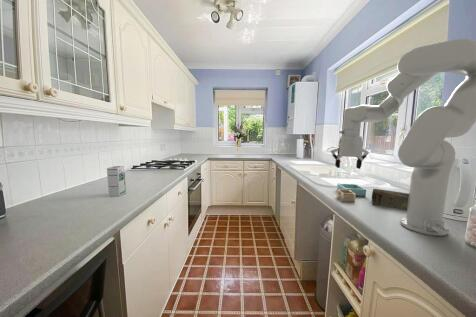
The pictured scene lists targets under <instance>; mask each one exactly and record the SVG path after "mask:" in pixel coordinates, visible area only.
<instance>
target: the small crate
mask: <svg viewBox="0 0 476 317" xmlns="http://www.w3.org/2000/svg"><path fill="white" fill-rule="evenodd" d="M336 192H337V194H336V197H337V199H339V200H340V201H341V202H349V203H350V202H351V203H355V202H356V196H355V195H356V194H355V193H353V192H352V191H350V190H336Z"/></svg>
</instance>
